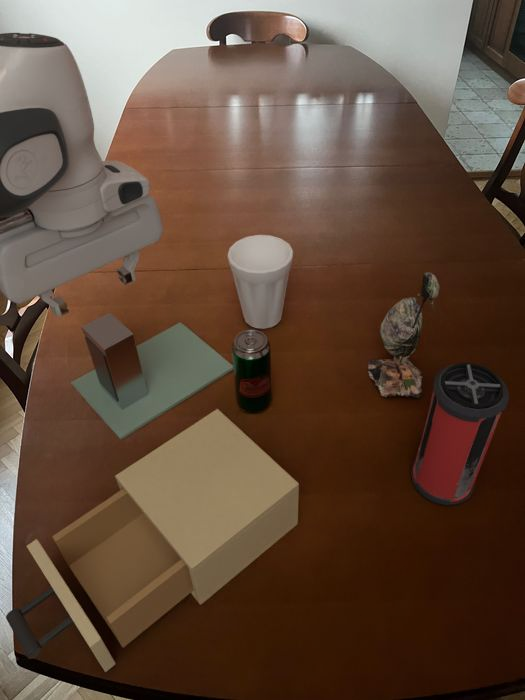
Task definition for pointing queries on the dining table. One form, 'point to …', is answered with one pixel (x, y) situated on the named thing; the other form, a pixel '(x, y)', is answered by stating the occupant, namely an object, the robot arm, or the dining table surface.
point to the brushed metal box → (115, 360)
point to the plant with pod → (402, 344)
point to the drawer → (109, 576)
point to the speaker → (458, 431)
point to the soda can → (252, 370)
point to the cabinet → (213, 499)
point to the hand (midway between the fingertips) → (95, 296)
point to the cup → (261, 277)
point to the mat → (158, 379)
